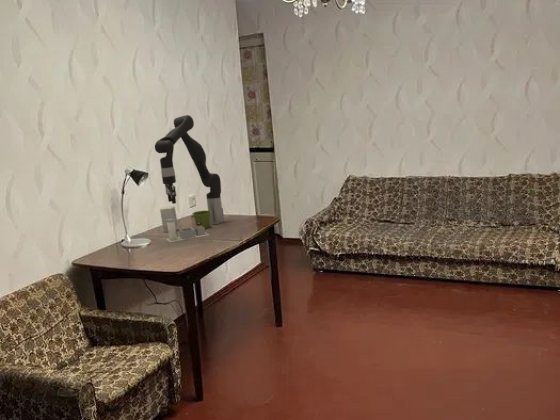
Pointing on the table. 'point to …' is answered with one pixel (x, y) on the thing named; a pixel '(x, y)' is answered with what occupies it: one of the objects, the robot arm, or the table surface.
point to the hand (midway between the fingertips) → (172, 202)
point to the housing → (189, 233)
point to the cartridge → (171, 229)
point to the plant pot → (202, 217)
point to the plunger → (199, 225)
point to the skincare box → (168, 217)
